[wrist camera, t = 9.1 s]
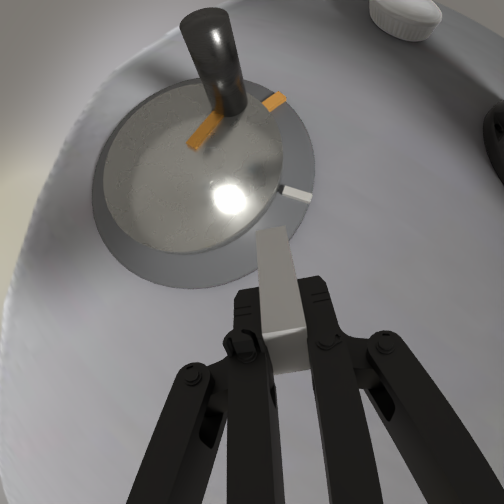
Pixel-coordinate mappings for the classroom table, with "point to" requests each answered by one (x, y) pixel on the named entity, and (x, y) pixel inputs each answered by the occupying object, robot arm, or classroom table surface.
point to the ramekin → (406, 18)
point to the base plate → (244, 248)
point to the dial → (196, 153)
